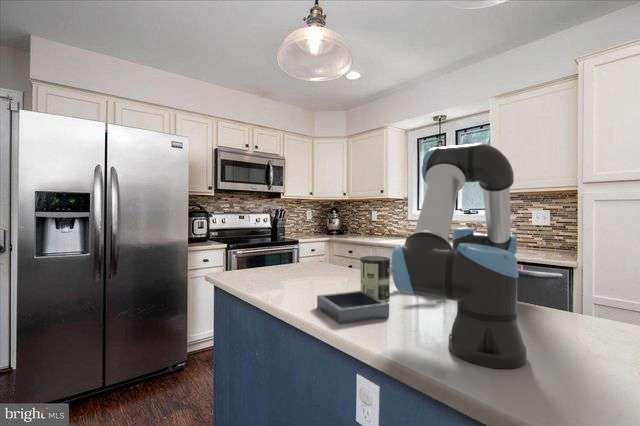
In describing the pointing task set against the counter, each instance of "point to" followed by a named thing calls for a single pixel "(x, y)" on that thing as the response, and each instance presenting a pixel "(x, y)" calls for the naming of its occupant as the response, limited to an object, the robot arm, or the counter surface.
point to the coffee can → (376, 276)
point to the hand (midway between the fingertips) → (397, 273)
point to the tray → (352, 307)
